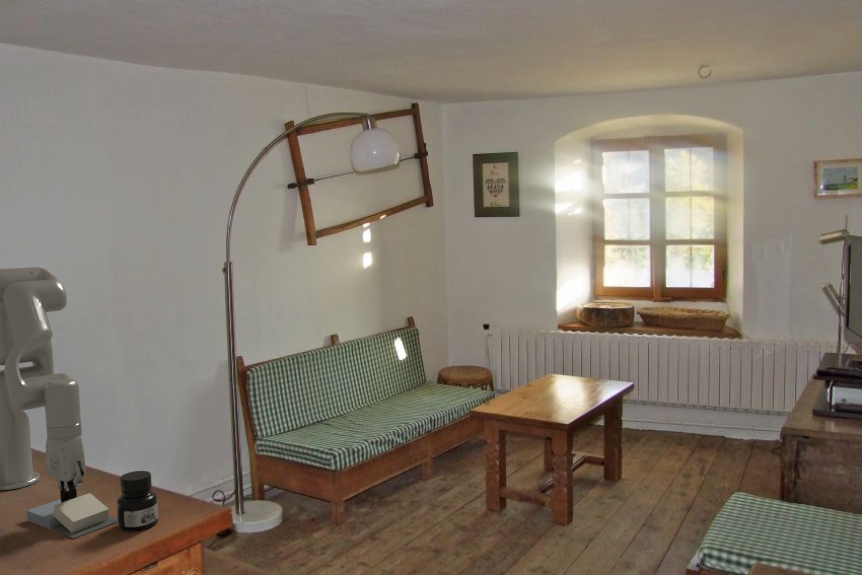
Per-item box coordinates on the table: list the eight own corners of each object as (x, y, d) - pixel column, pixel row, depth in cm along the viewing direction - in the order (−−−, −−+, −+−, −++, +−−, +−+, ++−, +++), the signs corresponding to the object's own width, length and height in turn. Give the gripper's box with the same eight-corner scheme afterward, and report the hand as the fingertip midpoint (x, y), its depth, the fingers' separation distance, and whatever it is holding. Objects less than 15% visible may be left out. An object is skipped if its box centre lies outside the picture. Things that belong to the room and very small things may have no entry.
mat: (50, 529, 180) (50, 528, 180) (97, 512, 190) (97, 511, 190) (73, 539, 175) (73, 538, 175) (121, 521, 185) (120, 520, 185)
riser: (27, 520, 186) (26, 510, 186) (74, 504, 196) (73, 494, 196) (49, 529, 181) (49, 519, 180) (96, 512, 190) (96, 502, 190)
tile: (53, 515, 182) (54, 505, 181) (88, 503, 189) (90, 493, 188) (72, 532, 178) (73, 521, 177) (107, 519, 185) (108, 508, 184)
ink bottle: (128, 536, 176) (125, 485, 175) (109, 526, 182) (106, 477, 181) (167, 522, 184) (164, 473, 182) (147, 513, 189) (145, 466, 188)
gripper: (32, 430, 185) (37, 503, 187) (66, 439, 177) (71, 516, 179) (62, 422, 191) (66, 494, 193) (96, 431, 183) (101, 506, 185)
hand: (69, 504), depth 186 cm, fingers closed
